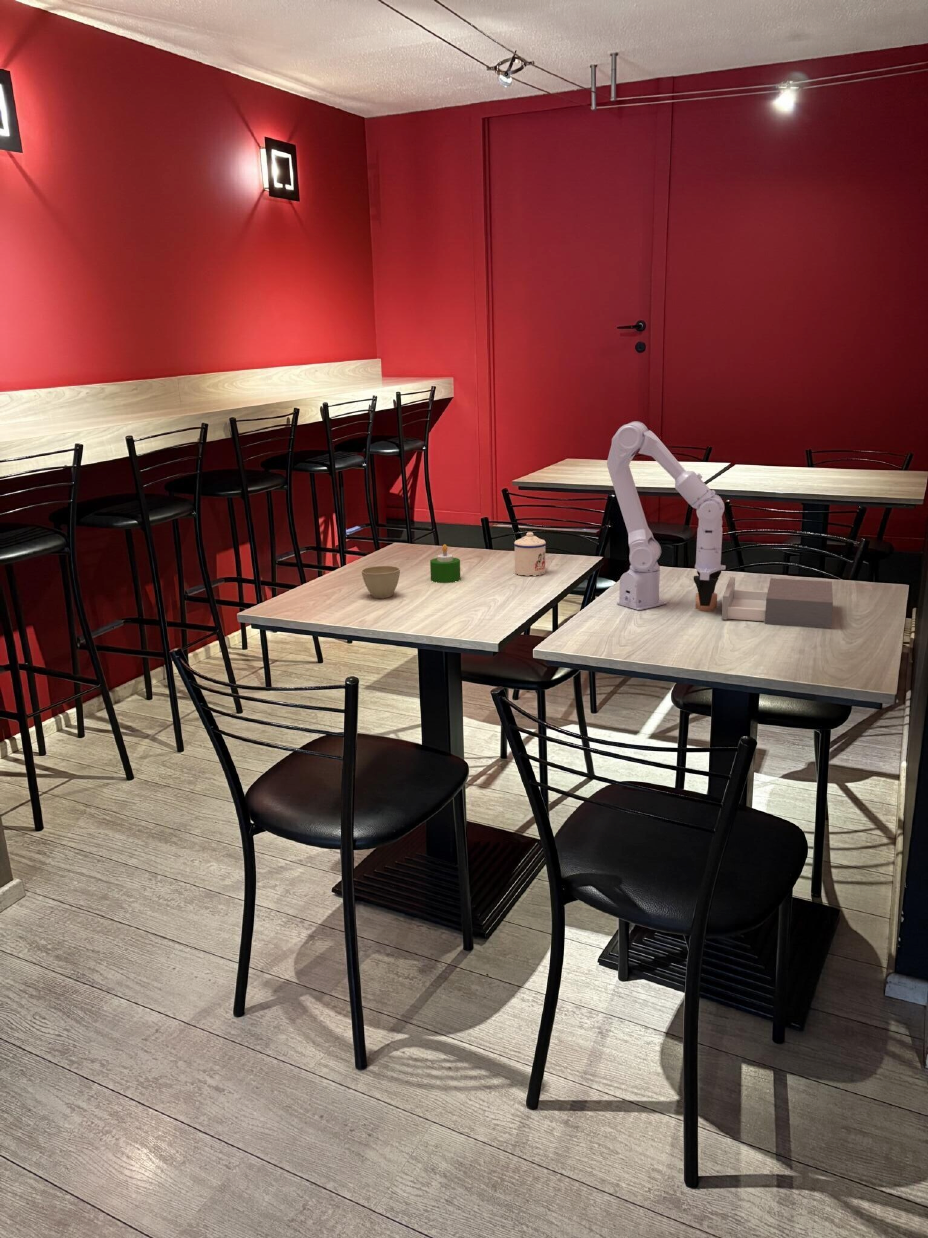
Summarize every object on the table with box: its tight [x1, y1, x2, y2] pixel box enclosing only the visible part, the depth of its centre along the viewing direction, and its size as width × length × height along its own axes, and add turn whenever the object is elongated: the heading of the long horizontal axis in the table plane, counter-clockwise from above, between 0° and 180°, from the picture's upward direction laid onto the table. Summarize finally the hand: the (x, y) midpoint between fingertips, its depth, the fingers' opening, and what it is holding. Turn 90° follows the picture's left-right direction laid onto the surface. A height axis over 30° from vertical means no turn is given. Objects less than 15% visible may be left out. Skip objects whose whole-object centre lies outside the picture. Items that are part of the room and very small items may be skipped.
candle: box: [429, 543, 461, 584], centre depth 260 cm, size 8×8×10 cm
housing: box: [764, 577, 834, 629], centre depth 218 cm, size 14×20×6 cm
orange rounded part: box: [694, 592, 718, 612], centre depth 226 cm, size 5×5×4 cm
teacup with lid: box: [513, 531, 547, 577], centre depth 266 cm, size 12×9×12 cm
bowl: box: [360, 565, 401, 599], centre depth 244 cm, size 10×10×7 cm
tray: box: [721, 576, 768, 622], centre depth 222 cm, size 12×20×6 cm, turn 160°
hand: (706, 602), depth 226 cm, fingers closed on orange rounded part, 5 cm apart
